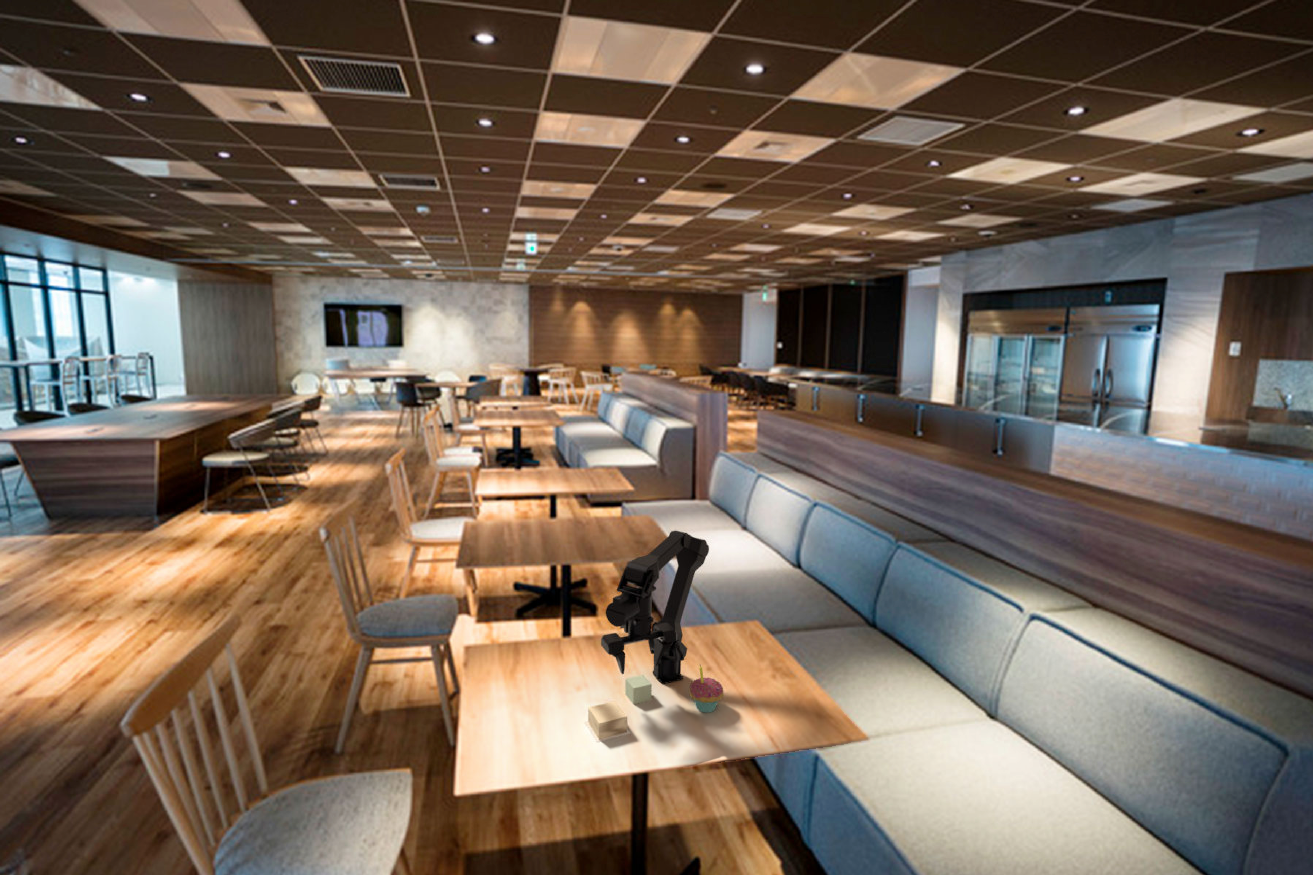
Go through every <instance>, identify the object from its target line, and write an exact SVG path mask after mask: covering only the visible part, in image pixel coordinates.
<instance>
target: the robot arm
mask: <svg viewBox="0 0 1313 875" xmlns="http://www.w3.org/2000/svg"><path fill="white" fill-rule="evenodd" d="M709 551H710V546H709V545H708V543H707V540H706V539H703V538H699V537H694V536H692V535H691V534H689V533H688V532H684V531H679V530H671V532H669V535H668V536H667V537H666V538H665V539H664V540H663V541H662V542H660V543H659V544H658V545H657V546H656V547H655V548H654V549H652V550H651V551H650V552H649V553H648V554H646V555H643V556H639V557H638V556H637V557H635V558H634V559H632V560H630V561H629V562H628V563H627V564H626V566H625V567H624V570H623V573H622V576H621V578H620V580H619V581H618V582H619V584H618V585H617V588H616V591H617V592H619V593H621V594H619V595H616V596H614V597H613V598H612V602H611V603H609V604H608V605H607V606H606V609H605V616H606V619H607V621H608V622H609V623H610V624H611V625H612V626H614V627H616V628H618V627H619V629H623V632H624V633H625V634H627V635H625V636H620V635H619V634H618V633H617V632H612V633H607V634H604V635H602V637H601V638H600V646H601V647H602V649H603V650H604V651H605V652H606V653H607V654H608V655H609V656H612V657H614V658H615V660H616V662H617V665H618V669H619V671H620V674H621V675H624V674H625V667H626V666H625V665H626V653H625V652H624V650H625V646H626V645H631V644H636V643H641V642H646V641H648V642H647V643H648V647H649V652H650V654H651V655H653V670H652V675H653V676H655V678H656V679H657V680H658V681H659V682H660V683H661V684H667V683H672V682H675V681H680V680H684V675H682V674H681V672H682V671H681V670H682V669H681V667H682V662H683V661H685V657H686V656H687V653H688V648H687V646H686V645H685V644H684V643H683V642H682V640H683V631H682V625H681V621H682V618H683V614H684V612H685V611H684V610H685V608H686V604H687V600H688V599H689V598H688V597H689V593H690V591H691V588H692V584H693V583H692V582H693V579H694V577H695V574H696V572H697V570H699V569H700V567H702V566H703V565H704V564H705V561H706V558H707V556H708V554H709ZM675 557H676V562H677V569H676V572H675V576H674V579H673V582H672V585H671V589H670V592H669V596H668V599H667V602H666V606H665V608H664V612H663V616H662V618H661V619H659V620H658V621H654V617H653V616H652V602H653V601H652V598H653V595H652V594H653V592H654V591H656V590H657V587H656V586H655V584H656V582H657V581H658V580H659V578H660V573H661V570H662V569H663V568H664V567H665V566H666V565H668V563H669V562H670V561H671V560H673V559H674V558H675ZM627 584H629V585H627ZM630 585H631V586H630ZM652 623H653V624H652Z"/></svg>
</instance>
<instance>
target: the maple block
mask: <svg viewBox="0 0 1313 875" xmlns="http://www.w3.org/2000/svg"><path fill="white" fill-rule="evenodd" d="M587 708H588V710H587V712H588V714H587V719H588V720H587V721H588V724H589V725H590V727H591V728H592V730H593V731H594V733H595V734H596V736H597V738H598V739H603V738H607V737H611V736H614V735H618V734H622V733H626V732H627V728H628V715H627V714H626V712H625V711H624V710H623V709H622V707H621V705H620V704H619V703H618V702H617V700H614V701H609V702H605V703H602V704H597V705H594V706H590V707H587Z"/></svg>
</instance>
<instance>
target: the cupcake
mask: <svg viewBox="0 0 1313 875" xmlns="http://www.w3.org/2000/svg"><path fill="white" fill-rule="evenodd" d="M698 668H699V676H700V678H697V679H694V681H692V682H691V683H690V685H689V689H688V692H689V696H690V697H691V698H693V701H694V704H695V707H696V709H697V710H698V711H699V712H702V713H711V712H714V711H715V710H716V707H717V704H718V702H719V701H720V700H721V699H723V698H724V687H723V685H722V684H721V683H720V682H719V681H718V680H716V679H715V678H711V677H704V671H703V666H702V665H701V664H699V666H698Z"/></svg>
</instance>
